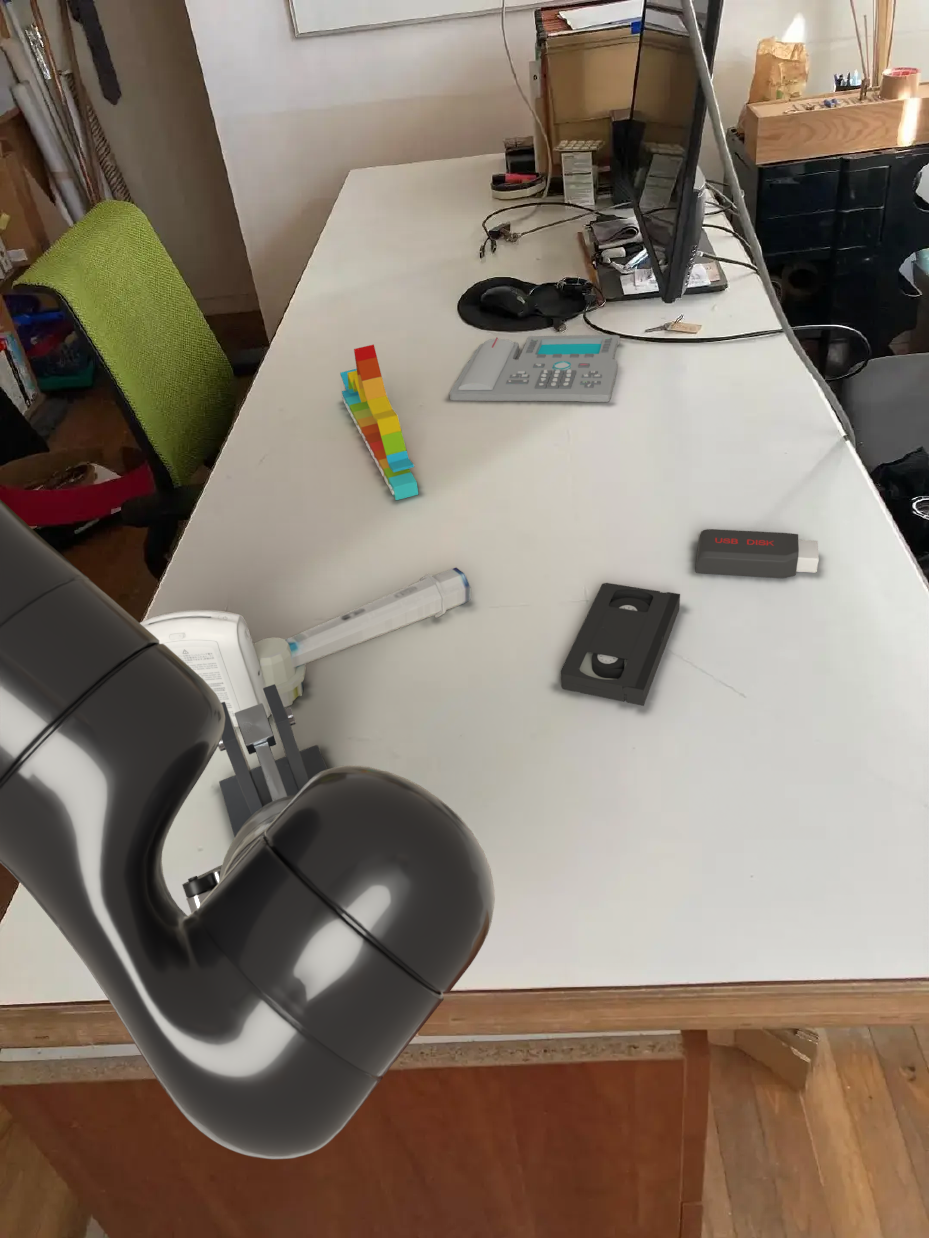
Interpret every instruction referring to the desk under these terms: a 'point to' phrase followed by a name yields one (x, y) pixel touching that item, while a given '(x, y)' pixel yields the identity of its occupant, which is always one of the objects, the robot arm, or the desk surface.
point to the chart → (378, 422)
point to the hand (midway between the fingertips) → (296, 847)
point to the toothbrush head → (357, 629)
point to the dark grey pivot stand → (249, 784)
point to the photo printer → (215, 653)
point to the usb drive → (755, 553)
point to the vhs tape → (621, 643)
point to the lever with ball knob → (261, 745)
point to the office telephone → (541, 370)
